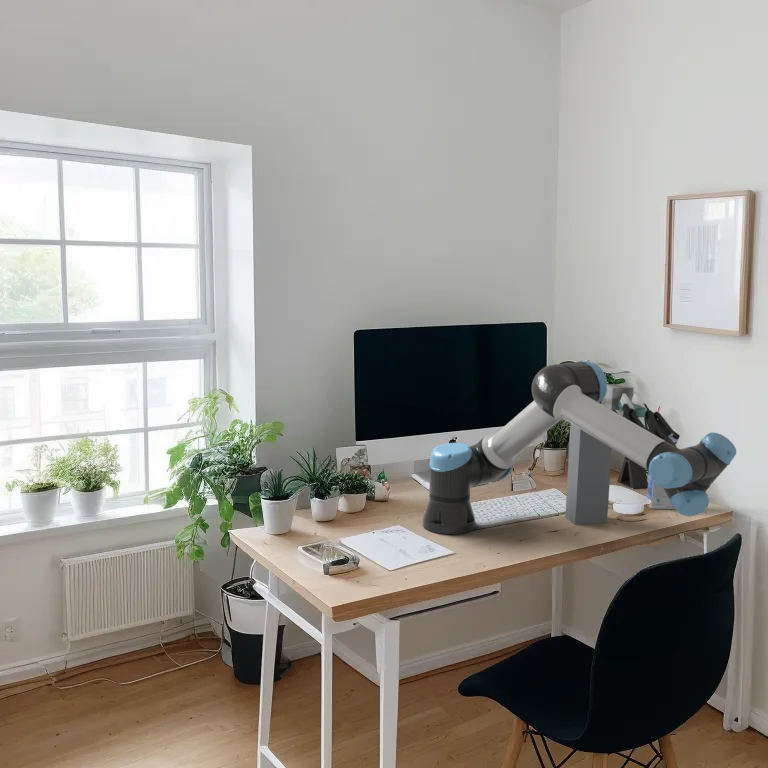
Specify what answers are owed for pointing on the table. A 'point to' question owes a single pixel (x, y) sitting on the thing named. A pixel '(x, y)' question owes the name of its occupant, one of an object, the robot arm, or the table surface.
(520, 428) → the robot arm
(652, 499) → the ink cartridge box
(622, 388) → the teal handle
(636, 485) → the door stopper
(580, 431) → the charcoal stand
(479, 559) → the table surface
